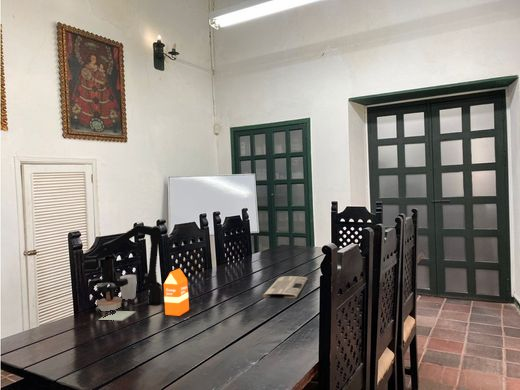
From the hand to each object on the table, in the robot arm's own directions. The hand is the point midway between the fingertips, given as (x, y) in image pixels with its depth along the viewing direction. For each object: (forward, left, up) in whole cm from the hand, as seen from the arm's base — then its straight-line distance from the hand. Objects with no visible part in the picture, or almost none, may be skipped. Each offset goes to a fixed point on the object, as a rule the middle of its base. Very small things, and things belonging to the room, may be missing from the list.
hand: (109, 299), depth 195 cm
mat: (-10, +11, -5) cm, 16 cm away
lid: (0, 0, -1) cm, 1 cm away
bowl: (0, 0, -5) cm, 5 cm away
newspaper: (-83, -38, -5) cm, 92 cm away
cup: (0, -17, -5) cm, 18 cm away
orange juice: (-37, +4, -5) cm, 38 cm away
